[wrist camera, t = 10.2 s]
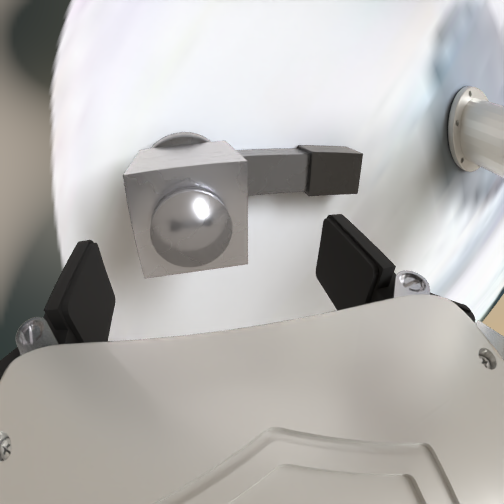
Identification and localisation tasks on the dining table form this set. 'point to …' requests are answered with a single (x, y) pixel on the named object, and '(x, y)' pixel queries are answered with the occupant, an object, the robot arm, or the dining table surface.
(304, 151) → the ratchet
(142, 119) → the dining table surface
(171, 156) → the cube with metal dome
